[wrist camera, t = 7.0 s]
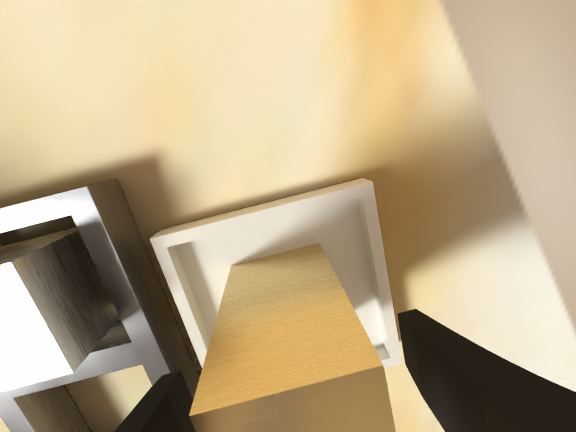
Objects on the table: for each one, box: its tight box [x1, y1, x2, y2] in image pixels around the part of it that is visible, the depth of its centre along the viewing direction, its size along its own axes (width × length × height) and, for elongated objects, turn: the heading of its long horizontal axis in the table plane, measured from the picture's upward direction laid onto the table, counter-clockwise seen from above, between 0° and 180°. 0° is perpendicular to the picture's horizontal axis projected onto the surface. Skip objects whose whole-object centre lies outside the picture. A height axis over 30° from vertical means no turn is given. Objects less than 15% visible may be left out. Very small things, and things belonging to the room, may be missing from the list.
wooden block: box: [189, 243, 396, 432], centre depth 10 cm, size 4×4×7 cm
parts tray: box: [150, 178, 402, 368], centre depth 13 cm, size 9×9×1 cm
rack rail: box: [0, 179, 199, 432], centre depth 12 cm, size 20×7×4 cm, turn 14°
